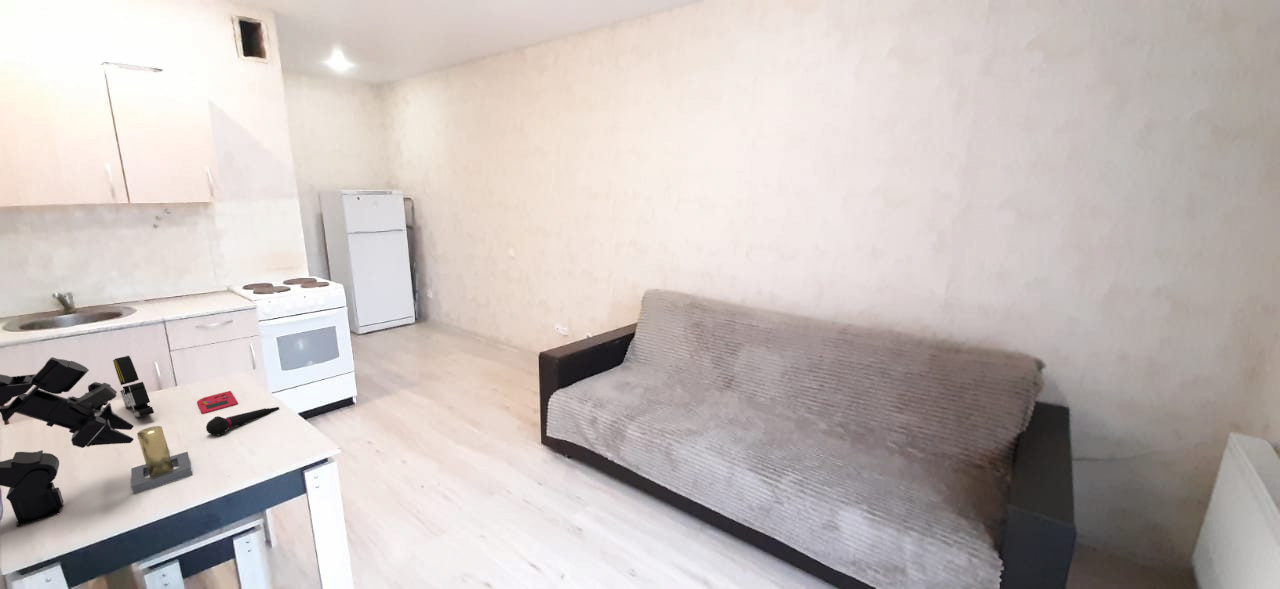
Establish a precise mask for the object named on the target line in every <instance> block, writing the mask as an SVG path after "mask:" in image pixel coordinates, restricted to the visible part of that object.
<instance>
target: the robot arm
mask: <svg viewBox="0 0 1280 589" xmlns="http://www.w3.org/2000/svg"><path fill="white" fill-rule="evenodd" d="M88 372H89V368H87V367H86V366H84V365H83V364H81V363H78V362H76V361H74V360H67V359H64V358H63V359H60V358H56V357H50V358H49V359H48V360H47V361H46V362H45V364H44V365H43V366H42V367H41V369H39V371H38V372H37V373H36V374H35V373H34V374H24V375H16V376H14V375H13V376H10V375H5V374H1V373H0V415H1V418H2V421H3V422H6V421H9V419H11V417H12V416H13V415H14V414H19V415H23V416H25V417H28V418H32V419H35V420H39V421H42V422H45V423H46V425H45V426H46V427H47V426H48V427H53V426H58V427H62V428H65V429H68V430H69V431H68V432H69V433H70V434H72V436H71V439H70V440H71V443H72V446H74V447H78V448H82V449H84V448H85V447H87V448H89V447H91V446H102V445H116V444H117V445H118V444H131V443H132V442H133V441H134V438H133V437H132V436H129V435H128V434H125V433H123V432H121V431H122V430H123V431H124V430H127V431H131V430H132V429H133V428H134V425H133V424H132V423H131V422H129V421H128V420H126V419H124V418H123V417H121V416H119V415H118V414H116V413H115V412H114V411H113V408H112V405H111V404H112V403H110V402H109V401H112V400H114V399H115V398H116V397H117V393H118V391H117V390H115V389H114V388H113V387H111V386H112V385H111V384H110V383H107V382H102V383H100V382H98V381H97V382H96V381H94V382H92V383H90V384H88V386H87V389H88V392H85V393H84V394H83V395H81V397H76V396H73V395H72V396H68V397H67V398H66V397H63V396H60V395H61V394H63V393H68V392H70V391H71V389H73V387H75V385H76V384H78V383H79V382H80V380H81V379H82V378H83V377H84V376H85V375H86V374H88ZM32 387H33V388H32ZM31 388H32V389H31ZM30 389H31V390H30ZM29 390H30V391H29ZM59 394H60V395H59ZM13 398H14V399H13ZM12 399H13V400H12ZM11 400H12V401H11ZM10 401H11V402H10ZM9 402H10V403H9ZM6 404H7V405H6ZM119 430H121V431H119ZM59 467H60V460H59V458H58V457H57V456H56V455H54V454H52V453H48V452H44V450H39V451H33V452H32V451H31V452H29V451H16V452H15V453H14V454H13V457H12V458H9V459H6V460H3V461H2V460H0V486H1V487H5V488H9V489H8V490H7V491H8V492H7V495H6V496H5V499H7V500H8V501H9V502H10V505H11V508H12V510H13V514H14V516H15V519H16V524H15V526H16V528H17V527H21V526H24V525H25V526H26V525H27V524H32V523H34V522H37V521H39V520H44V519H47V518H49V517H53V516H55V515H58V514H60V513H61V509H62V508H63V506H64V503H65V502H64V501H65V500H64V498H63V495H62V493H61V489H60V487H58V486H57V487H56V486H55V484H54V482H53V481H54V480H55V479H56V476H57V474H58V472H59V471H58V470H59Z"/></svg>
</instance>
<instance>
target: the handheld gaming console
mask: <svg viewBox="0 0 1280 589" xmlns="http://www.w3.org/2000/svg"><path fill="white" fill-rule="evenodd" d="M196 403H197V407H198V409H199V412H200V413H201V415H205V414H210V413H213V412H215V411H217V412H218V411H221V410H224V409H227V408H232V407H234V406H237V405H239V403H238V400H237V399H236V397H235V395H234V394H233V393H232V391H231V390H228V391H224V392H221V393H217V394H213V395H209V396H204V397H202V398H200V399H198V400H197V401H196Z"/></svg>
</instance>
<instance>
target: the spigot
mask: <svg viewBox="0 0 1280 589" xmlns="http://www.w3.org/2000/svg"><path fill="white" fill-rule="evenodd" d="M136 434H137V435H136V436H137V439H138V442H139V445H140V449H141V452H142V455H143V458H144V462H145V464H146V466H147V469H148V472H149V475H148V477H151V476H154V475H157V474H160V473H164V472H167V471H170V470H173V469H175V467H173V465H172V461H171V458H170V457H171V454H170V451H169V446H168V443H166V442H167V440H165V439H166V437H165V433H164V430H163V426H161V425H156V426H151V427H147V428H144V429H141V430H140V431H138V432H137V433H136ZM167 446H168V447H167Z"/></svg>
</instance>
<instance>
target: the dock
mask: <svg viewBox="0 0 1280 589" xmlns="http://www.w3.org/2000/svg"><path fill="white" fill-rule="evenodd" d="M170 458H171V461H172V465H173V468H174V469H173V470H170V471H167V472H164V473H160V474H157V475H154V476H151V477H150V476H149V472H148V469H147V466H146V463H145V464H144V463H143V464H142V465H139V466H136V467H135V466H134V467H131V470H130V474H131V475H130V479H131V480H130V481H131V482H130V484H131V486H130V487H131V491H132V495H135V494H138V493H141V492H144V491H147V490H148V491H149V490H151V489H154V488H157V487H160V485H161V486H163V484H164V485H166V483H167V484H169V483H172V482H175V481H179V480H182V479H185V478H188V477H191V476H193V470H191V469H192V466H191V465H192V463H191V460H190V456H189V452H188V451H184V452H181V453H177V454H175V455H170ZM174 466H175V467H174ZM190 475H191V476H190ZM146 476H148V477H146ZM178 479H179V480H178Z"/></svg>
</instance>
